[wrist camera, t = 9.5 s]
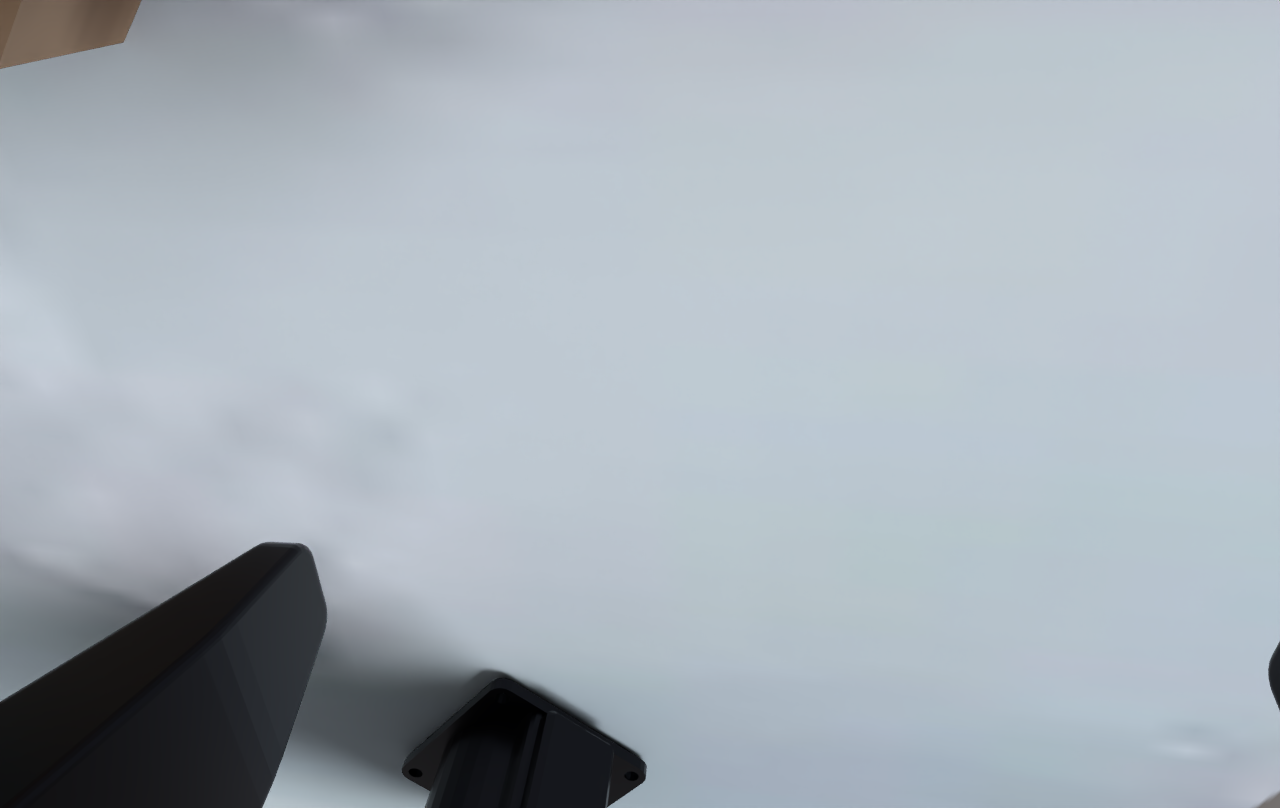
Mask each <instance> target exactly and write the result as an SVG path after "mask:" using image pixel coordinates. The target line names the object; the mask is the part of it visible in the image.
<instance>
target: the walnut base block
mask: <svg viewBox="0 0 1280 808" xmlns="http://www.w3.org/2000/svg"><path fill="white" fill-rule="evenodd" d="M140 2H141V0H0V69H1V68H6V67H10V66H15V65H20V64H24V63H29V62H34V61H39V60H43V59H48V58H53V57H57V56H62V55H67V54H71V53H76V52H81V51H85V50H90V49H95V48H100V47H104V46H109V45H114V44H118V43H123V42H124V40H125V38H126V35H127V33H128V31H129V28H130V26H131V24H132V21H133V19H134V17H135V14H136V12H137V10H138V7H139V5H140Z"/></svg>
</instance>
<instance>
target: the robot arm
mask: <svg viewBox="0 0 1280 808" xmlns="http://www.w3.org/2000/svg"><path fill="white" fill-rule="evenodd" d="M326 623H327V608H326V602H325V599H324V595H323V591H322V588H321V584H320V580H319V576H318V573H317V569H316V565H315V562H314V558H313V555H312V553H311V551H310V550H309V548H308V547H307V546H305V545H303V544H300V543H283V542H265V543H261V544H259V545H257V546H255V547H254V548H252V549H250V550H249V551H247V552H245V553H244V554H242V555H241V556H239V557H237V558H236V559H234V560H232V561H231V562H229V563H227V564H226V565H224V566H222V567H221V568H219V569H218V570H216V571H214V572H213V573H211V574H209V575H208V576H206V577H204V578H203V579H201V580H200V581H198V582H196V583H195V584H193V585H191V586H190V587H188V588H186V589H185V590H183V591H181V592H180V593H178V594H177V595H175V596H173V597H172V598H170V599H168V600H167V601H165V602H163V603H162V604H160V605H158V606H157V607H155V608H154V609H152V610H150V611H149V612H147V613H145V614H144V615H142V616H140V617H139V618H137V619H135V620H134V621H132V622H131V623H129V624H127V625H126V626H124V627H122V628H121V629H119V630H117V631H116V632H114V633H112V634H111V635H109V636H108V637H106V638H104V639H103V640H101V641H99V642H98V643H96V644H94V645H93V646H91V647H90V648H88V649H86V650H85V651H83V652H81V653H80V654H78V655H76V656H75V657H73V658H71V659H70V660H68V661H67V662H65V663H63V664H62V665H60V666H58V667H57V668H55V669H53V670H52V671H50V672H48V673H47V674H45V675H44V676H42V677H40V678H39V679H37V680H35V681H34V682H32V683H30V684H29V685H27V686H25V687H24V688H22V689H20V690H19V691H17V692H16V693H14V694H12V695H11V696H9V697H7V698H6V699H4V700H2V701H1V702H0V808H262V807H263V804H264V802H265V800H266V797H267V795H268V793H269V791H270V788H271V786H272V784H273V781H274V779H275V776H276V773H277V770H278V768H279V765H280V762H281V760H282V757H283V754H284V751H285V748H286V745H287V742H288V739H289V736H290V733H291V730H292V727H293V724H294V721H295V718H296V716H297V713H298V710H299V707H300V704H301V701H302V698H303V695H304V692H305V689H306V686H307V683H308V680H309V677H310V674H311V671H312V668H313V665H314V662H315V659H316V656H317V653H318V650H319V647H320V644H321V641H322V638H323V635H324V632H325V628H326ZM1268 671H1269V682H1270V687H1271V690H1272V693H1273V695H1274V698H1275V700H1276V703H1277V705H1278V708H1279V710H1280V642H1279V644H1278V645H1277V647H1276V649H1275V651H1274V653H1273V655H1272V657H1271V659H1270V663H1269V669H1268ZM646 768H647V766H646V764H645V762H644V761H643V760H641V759H640V758H638V757H636V756H635V755H633V754H632V753H630V752H628V751H627V750H625V749H623V748H622V747H620V746H618V745H617V744H615V743H614V742H612V741H610V740H609V739H607V738H605V737H604V736H602V735H600V734H599V733H597V732H595V731H594V730H592V729H591V728H589V727H587V726H586V725H584V724H582V723H581V722H579V721H577V720H576V719H574V718H573V717H571V716H569V715H568V714H566V713H564V712H563V711H561V710H559V709H558V708H556V707H554V706H553V705H551V704H550V703H548V702H546V701H545V700H543V699H541V698H540V697H538V696H536V695H535V694H533V693H532V692H530V691H528V690H527V689H525V688H523V687H522V686H520V685H518V684H517V683H515V682H513V681H511V680H509V679H504V678H501V679H496V680H494V681H492V682H491V683H490V684H489V685H488V686H487V687H486V688H484V689H483V690H482V691H481V692H480V693H479V694H478V695H477V696H475V697H474V698H473V699H472V700H471V701H470V702H469V703H468V704H466V705H465V706H464V707H463V708H462V709H461V710H460V711H458V712H457V713H456V714H455V715H454V716H453V717H452V718H451V719H449V720H448V721H447V722H446V723H445V724H444V725H443V726H441V727H440V728H439V729H438V730H437V731H436V732H435V733H434V734H432V735H431V736H430V737H429V738H428V739H427V740H426V741H425V742H423V743H422V744H421V745H420V746H419V747H418V748H417V749H415V750H414V751H413V752H412V753H411V754H410V755H409V756H408V757H407V758H406V760H405V762H404V765H403V768H402V773H403V775H404V776H405V777H406V778H408V779H409V780H411V781H413V782H415V783H416V784H418V785H420V786H422V787H424V788H426V789H427V790H429V791H430V794H429V797H428V800H427V803H426V806H425V808H607V807H608V806H610V805H611V804H613V803H614V802H615V801H617V800H618V799H620V798H621V797H623V796H624V795H626V794H627V793H628V792H630V791H631V790H633V789H634V788H636V787H637V786H639V785H640V784H642V783H643V782H644V781H645V778H646Z"/></svg>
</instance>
